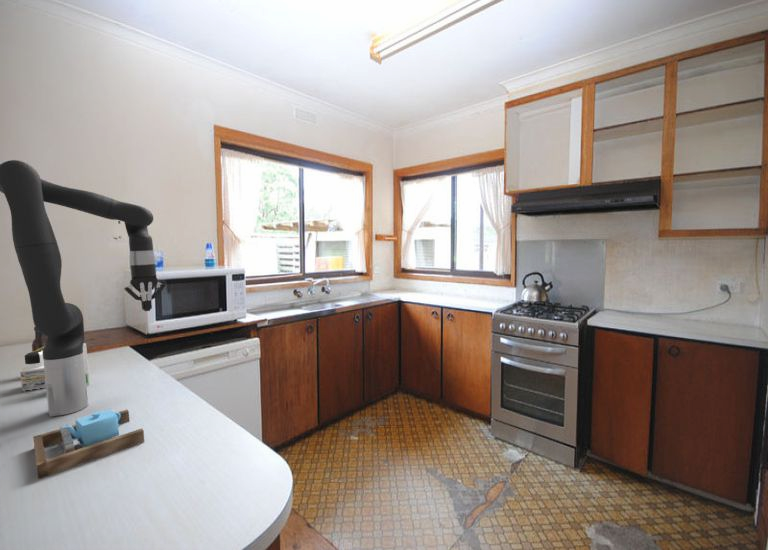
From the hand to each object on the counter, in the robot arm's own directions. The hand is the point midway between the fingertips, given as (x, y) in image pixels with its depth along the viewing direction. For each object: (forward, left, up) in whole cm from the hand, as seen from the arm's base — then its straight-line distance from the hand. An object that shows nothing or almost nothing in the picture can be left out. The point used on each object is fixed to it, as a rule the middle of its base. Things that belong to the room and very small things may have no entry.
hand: (147, 310), depth 130 cm
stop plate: (-27, -37, -27) cm, 53 cm away
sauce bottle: (-27, +47, -27) cm, 60 cm away
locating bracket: (-23, -37, -27) cm, 51 cm away
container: (-29, +30, -27) cm, 50 cm away
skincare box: (-21, +19, -27) cm, 39 cm away
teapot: (-22, -37, -27) cm, 51 cm away
